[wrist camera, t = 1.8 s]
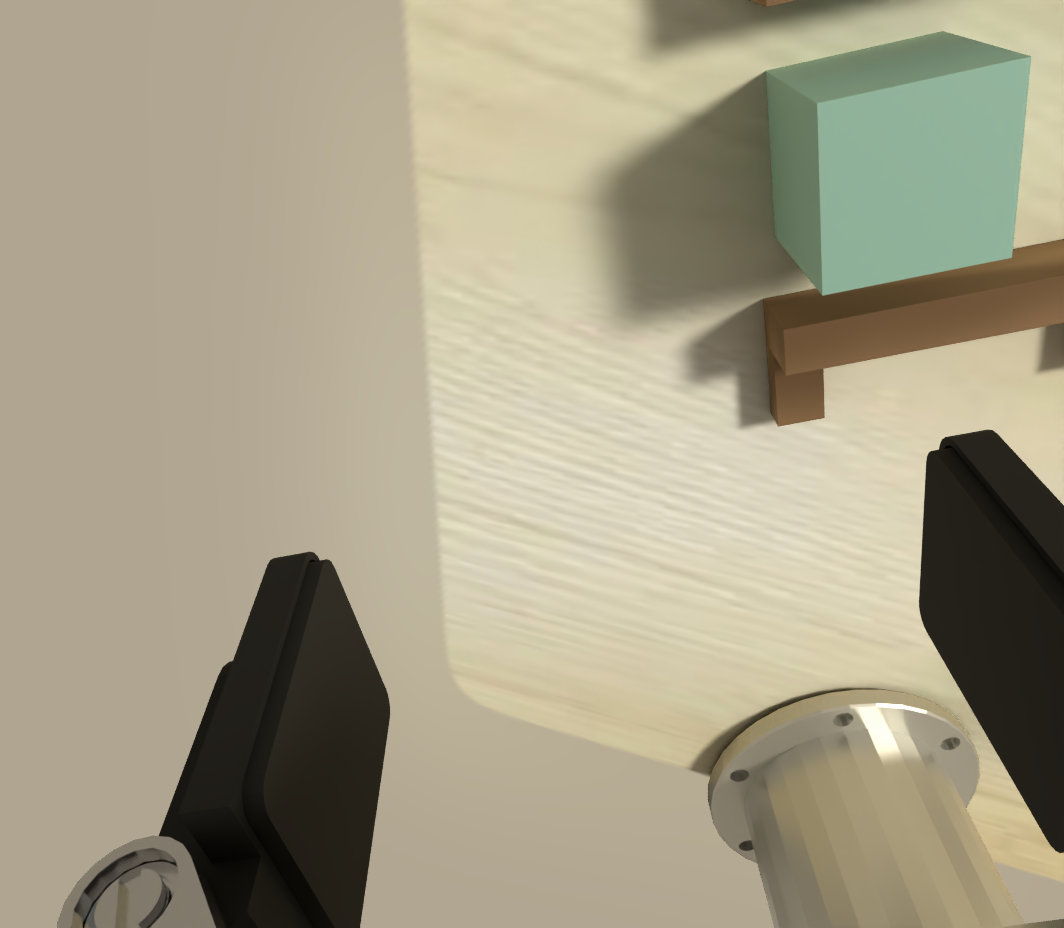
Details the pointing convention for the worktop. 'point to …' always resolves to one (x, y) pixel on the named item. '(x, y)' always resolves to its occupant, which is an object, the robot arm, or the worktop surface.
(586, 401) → the worktop surface
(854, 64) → the block
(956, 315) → the wooden brackets
